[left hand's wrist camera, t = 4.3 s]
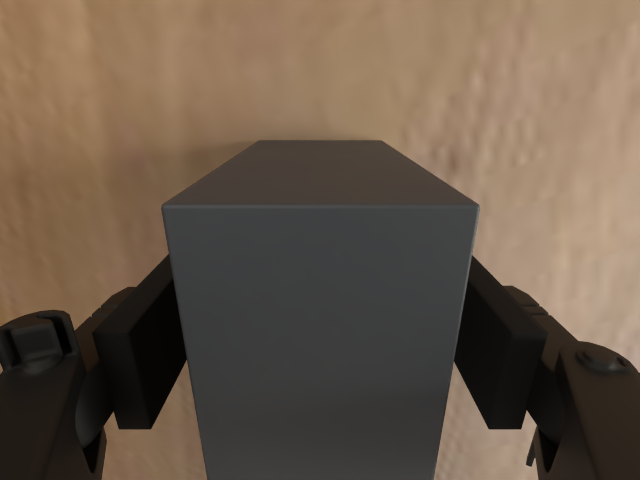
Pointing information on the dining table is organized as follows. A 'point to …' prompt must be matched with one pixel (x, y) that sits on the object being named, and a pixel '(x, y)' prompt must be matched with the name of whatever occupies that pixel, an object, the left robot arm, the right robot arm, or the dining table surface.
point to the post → (320, 309)
